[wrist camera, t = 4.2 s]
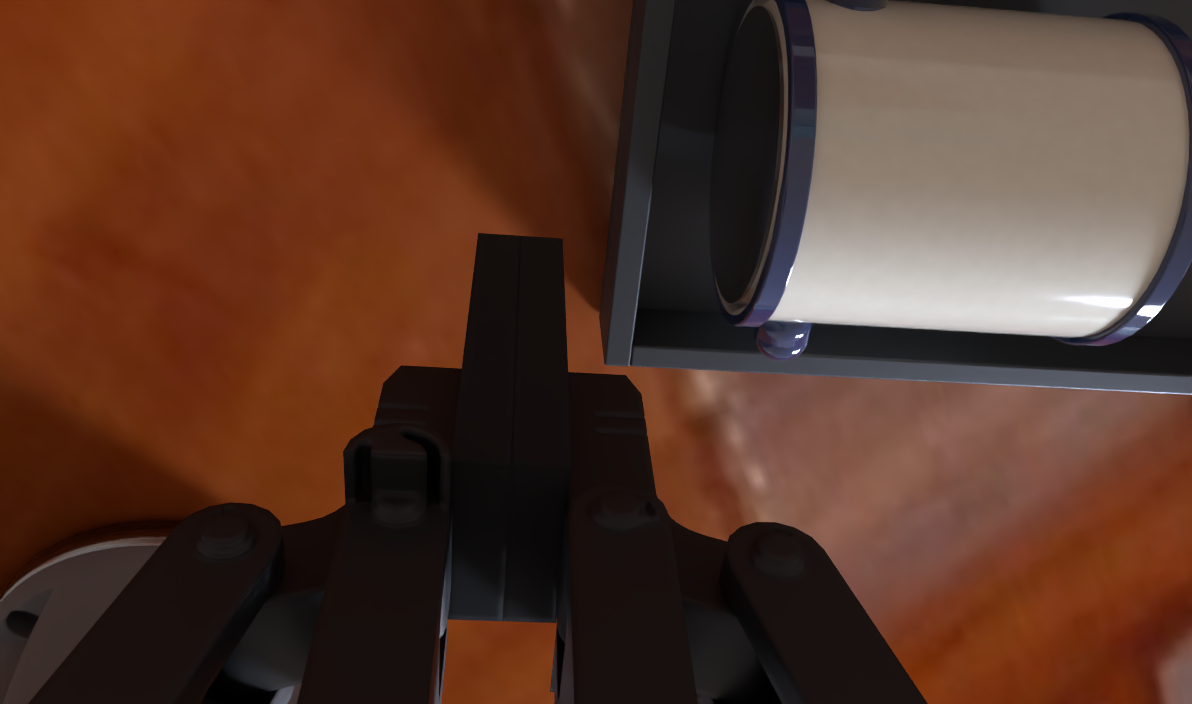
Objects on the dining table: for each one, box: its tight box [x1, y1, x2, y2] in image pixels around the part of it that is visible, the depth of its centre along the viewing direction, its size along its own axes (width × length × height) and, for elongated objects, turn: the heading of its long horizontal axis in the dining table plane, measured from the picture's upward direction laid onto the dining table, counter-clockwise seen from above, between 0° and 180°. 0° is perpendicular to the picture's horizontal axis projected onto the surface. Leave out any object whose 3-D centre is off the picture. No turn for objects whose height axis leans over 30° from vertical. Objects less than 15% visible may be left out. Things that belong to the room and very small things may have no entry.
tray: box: [599, 0, 1192, 395], centre depth 31 cm, size 26×16×3 cm, turn 85°
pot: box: [709, 0, 1192, 361], centre depth 27 cm, size 10×12×9 cm
